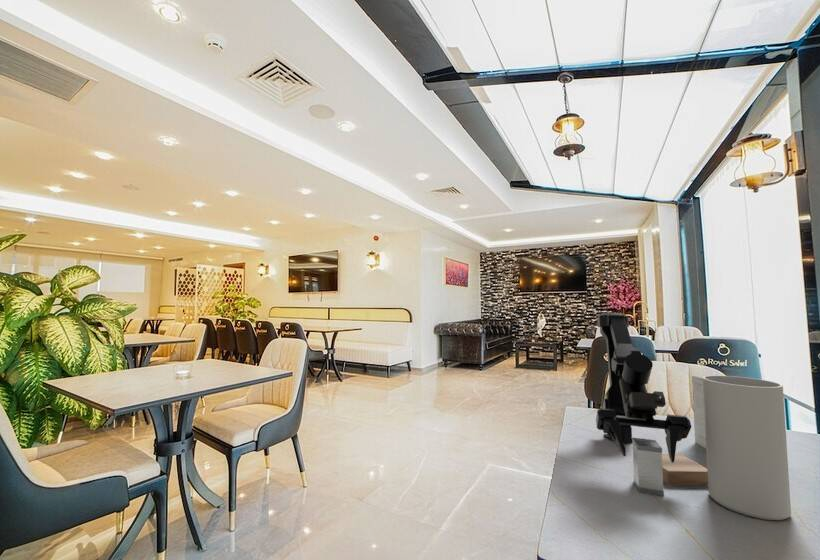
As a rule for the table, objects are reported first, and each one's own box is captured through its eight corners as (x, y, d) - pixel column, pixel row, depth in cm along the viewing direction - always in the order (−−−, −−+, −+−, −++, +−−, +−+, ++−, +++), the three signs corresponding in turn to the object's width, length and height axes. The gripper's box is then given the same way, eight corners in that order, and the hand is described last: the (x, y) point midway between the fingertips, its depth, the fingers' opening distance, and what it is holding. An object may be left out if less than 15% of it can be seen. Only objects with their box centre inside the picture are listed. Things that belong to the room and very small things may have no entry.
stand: (642, 466, 94) (641, 453, 95) (681, 466, 94) (681, 454, 94) (669, 484, 84) (668, 471, 85) (713, 485, 84) (712, 471, 84)
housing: (633, 482, 86) (632, 437, 86) (657, 485, 84) (655, 440, 85) (639, 492, 81) (637, 445, 82) (664, 496, 79) (662, 448, 80)
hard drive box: (760, 465, 95) (756, 386, 97) (726, 463, 97) (722, 385, 98) (722, 443, 110) (719, 376, 112) (693, 441, 112) (690, 374, 113)
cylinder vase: (775, 529, 68) (766, 389, 69) (696, 497, 79) (691, 378, 81) (802, 512, 73) (793, 383, 75) (725, 485, 84) (719, 373, 86)
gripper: (596, 374, 91) (604, 435, 80) (686, 380, 85) (709, 446, 74) (593, 400, 98) (600, 458, 87) (676, 407, 92) (695, 471, 81)
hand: (648, 458), depth 82 cm, fingers open, 9 cm apart
